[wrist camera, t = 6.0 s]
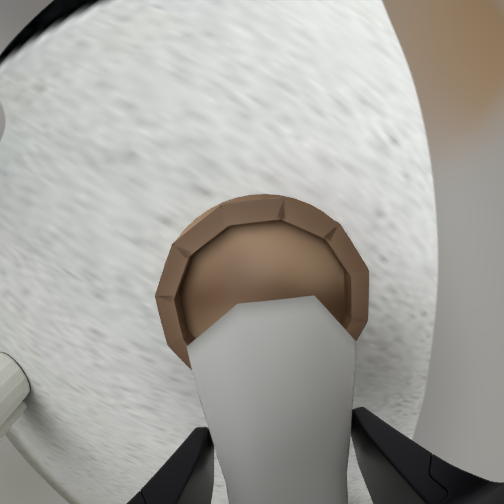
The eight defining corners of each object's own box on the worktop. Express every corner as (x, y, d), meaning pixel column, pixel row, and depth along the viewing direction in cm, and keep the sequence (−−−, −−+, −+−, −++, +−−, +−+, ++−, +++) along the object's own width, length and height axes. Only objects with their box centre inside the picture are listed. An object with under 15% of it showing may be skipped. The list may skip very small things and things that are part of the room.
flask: (370, 392, 12) (450, 561, 2) (235, 439, 13) (226, 611, 3) (326, 262, 11) (521, 501, 1) (159, 332, 11) (41, 551, 1)
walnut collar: (357, 363, 21) (366, 379, 19) (186, 384, 21) (181, 402, 19) (355, 185, 18) (368, 185, 16) (147, 210, 18) (134, 213, 16)
